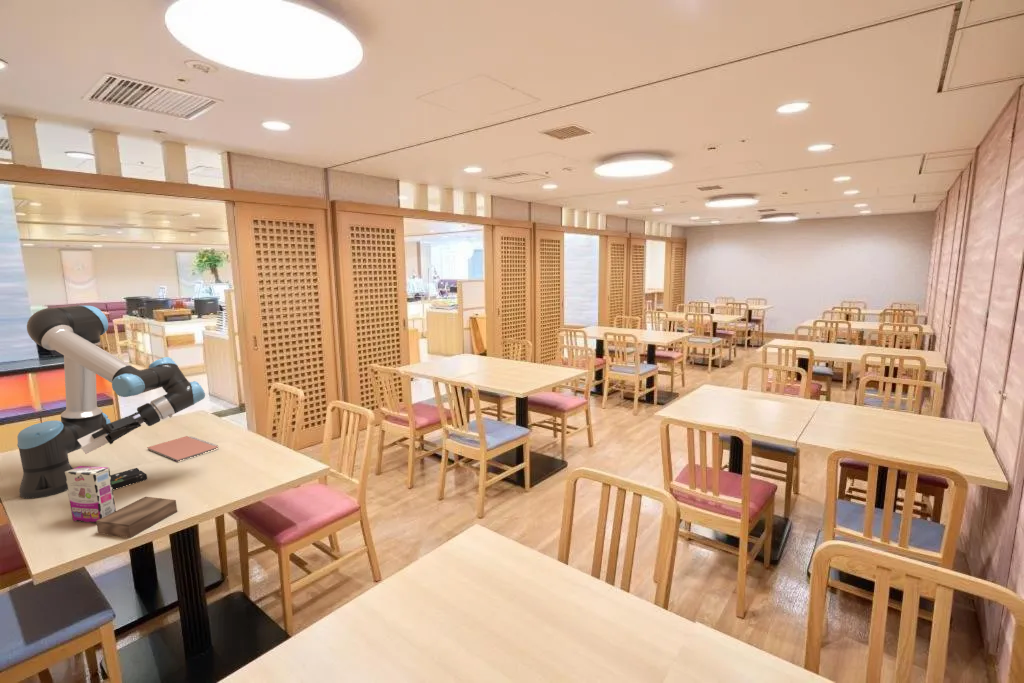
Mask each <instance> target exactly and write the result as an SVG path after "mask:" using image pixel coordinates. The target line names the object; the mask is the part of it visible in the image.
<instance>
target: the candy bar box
mask: <svg viewBox="0 0 1024 683" xmlns="http://www.w3.org/2000/svg"><path fill="white" fill-rule="evenodd" d="M72 468H73V469H71V470H68V471H66V472H65V476H66V482H67V488H68V490H67V493H68V500H69V505H70V511H71V517H72V521H73V522H79V521H81V522H82V523H93V524H95V523H96V521H97V520H99V519H101V518H103V517H105V516H107V515H109V514H111V513H113V512H115V511H117V510H116V505H115V503H116V502H115V497H114V490H112V483H111V476H110V475H111V470H110V467H104V466H88V465H87V466H86V465H79V466H76V467H72ZM96 524H97V523H96Z"/></svg>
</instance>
